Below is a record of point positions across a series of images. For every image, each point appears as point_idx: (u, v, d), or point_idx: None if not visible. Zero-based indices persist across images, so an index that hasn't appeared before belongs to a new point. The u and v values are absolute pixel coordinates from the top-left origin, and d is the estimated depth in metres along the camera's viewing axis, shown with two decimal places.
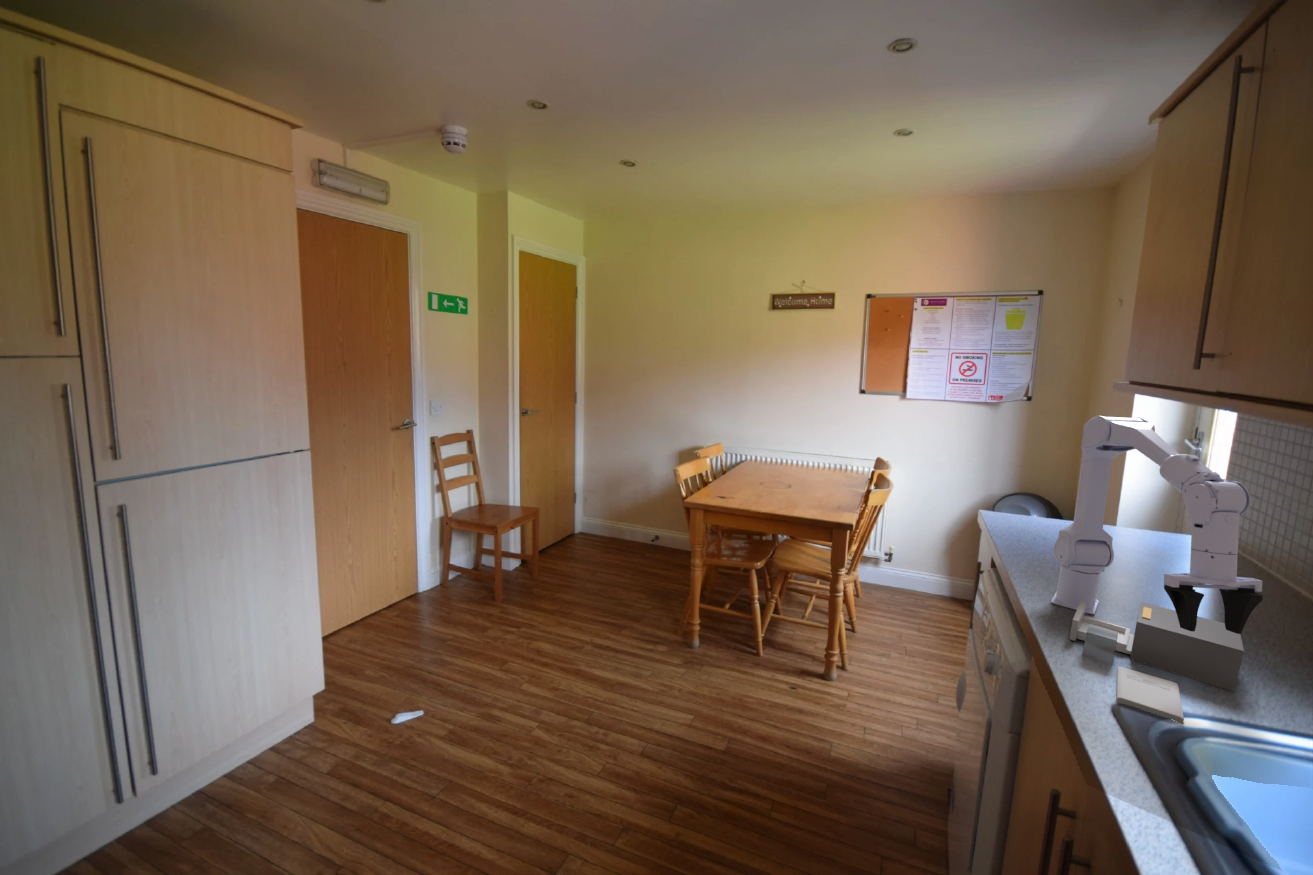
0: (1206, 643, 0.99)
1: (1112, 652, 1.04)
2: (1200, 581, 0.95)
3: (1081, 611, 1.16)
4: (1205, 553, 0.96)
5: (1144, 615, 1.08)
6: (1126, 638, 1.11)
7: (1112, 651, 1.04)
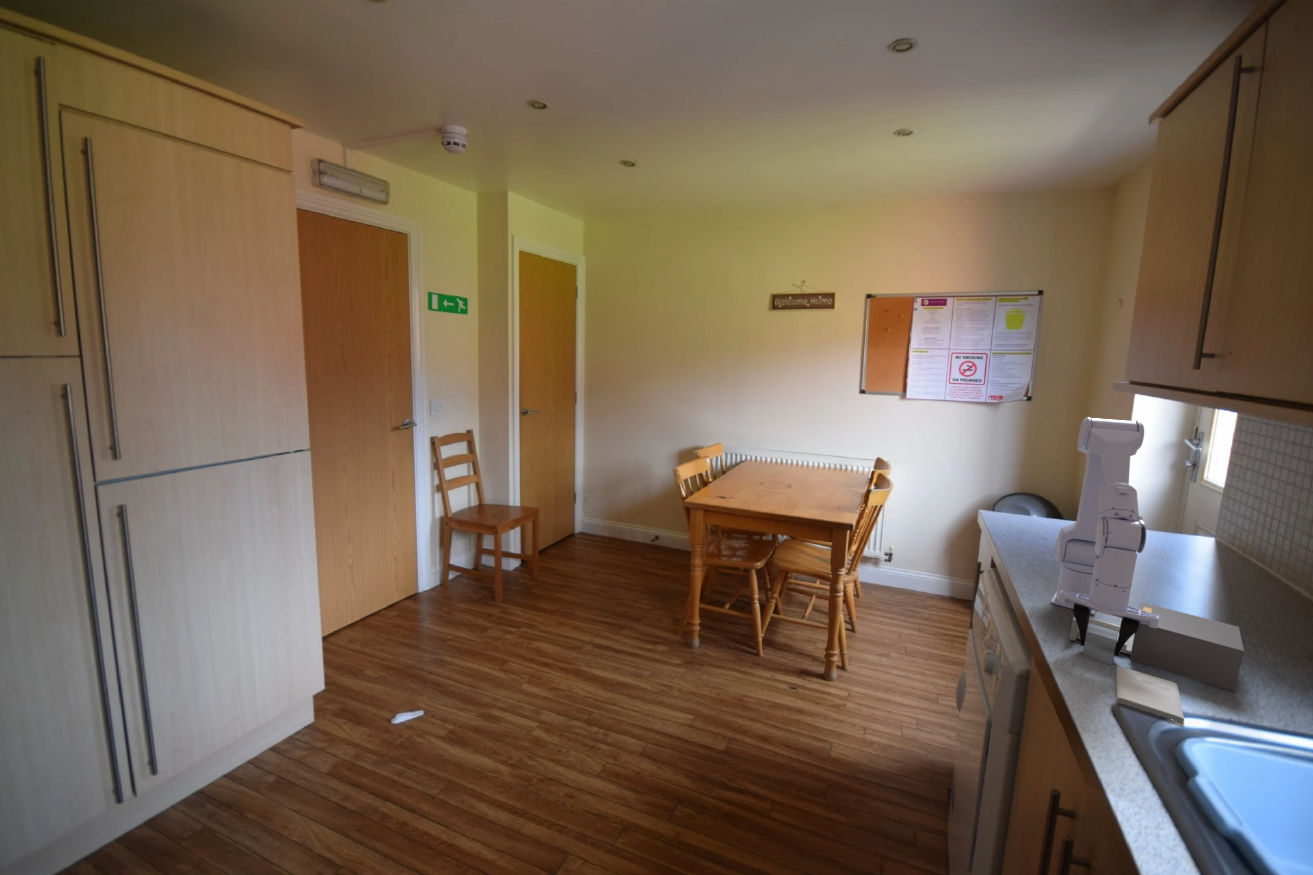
0: (1206, 643, 0.99)
1: (1112, 652, 1.04)
2: (1081, 602, 1.07)
3: None
4: (1093, 580, 1.06)
5: None
6: None
7: (1112, 651, 1.04)
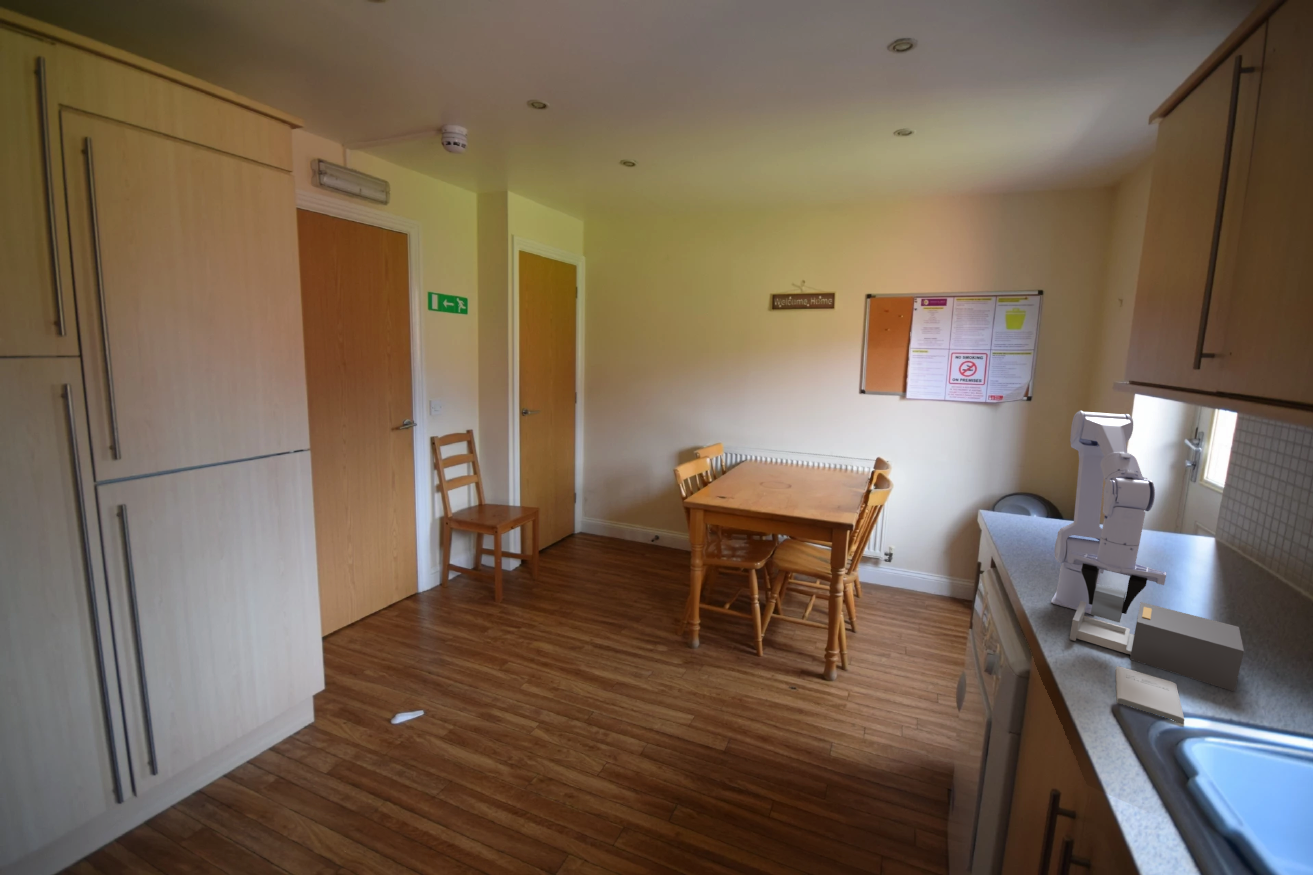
0: (1206, 643, 0.99)
1: (1120, 609, 1.06)
2: (1090, 562, 1.09)
3: (1081, 611, 1.16)
4: (1102, 539, 1.08)
5: (1144, 615, 1.08)
6: (1126, 638, 1.11)
7: (1120, 608, 1.06)
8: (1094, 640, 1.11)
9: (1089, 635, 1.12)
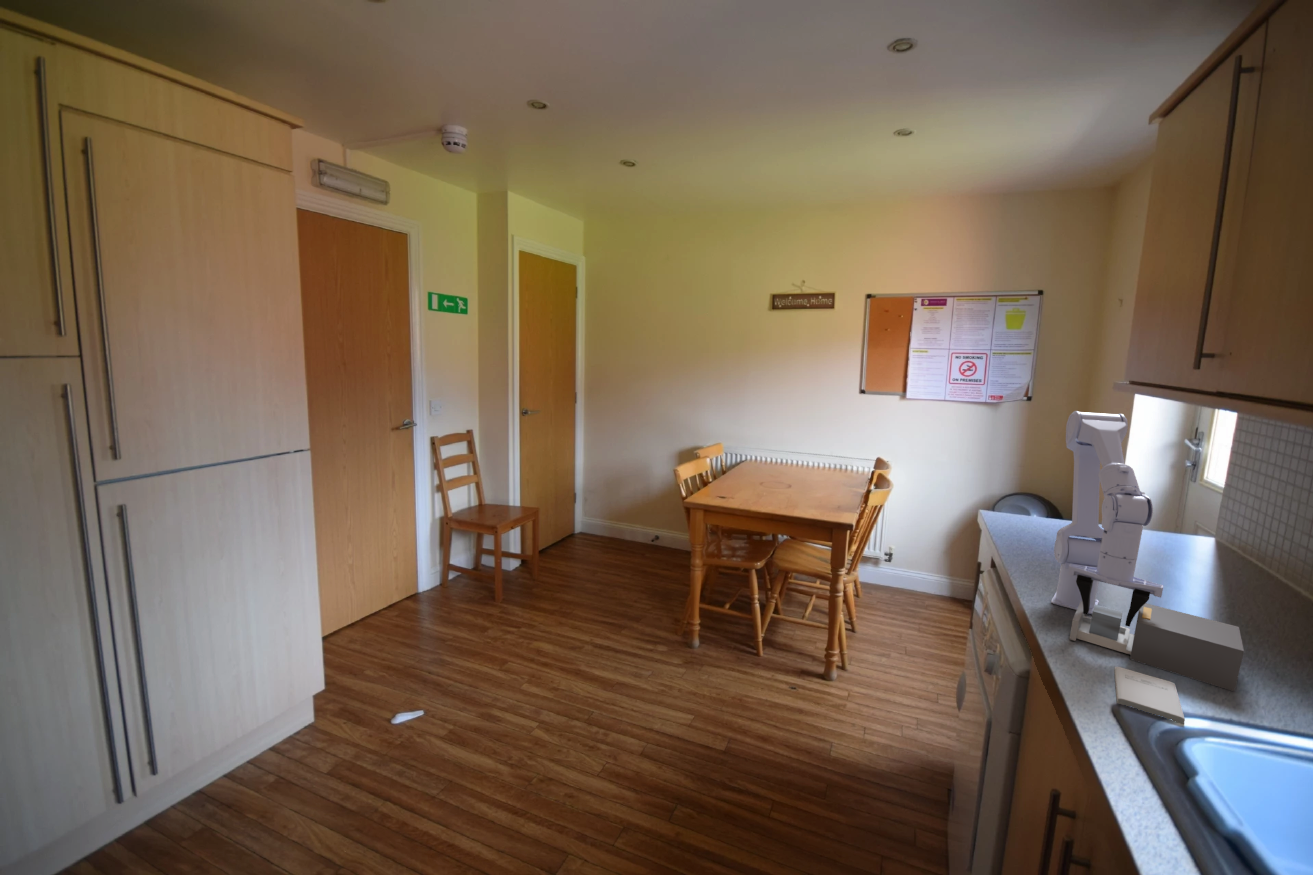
0: (1206, 643, 0.99)
1: (1117, 630, 1.10)
2: (1089, 574, 1.13)
3: (1081, 611, 1.16)
4: (1101, 553, 1.12)
5: (1144, 615, 1.08)
6: (1126, 638, 1.11)
7: (1117, 629, 1.10)
8: (1094, 640, 1.11)
9: (1089, 635, 1.12)
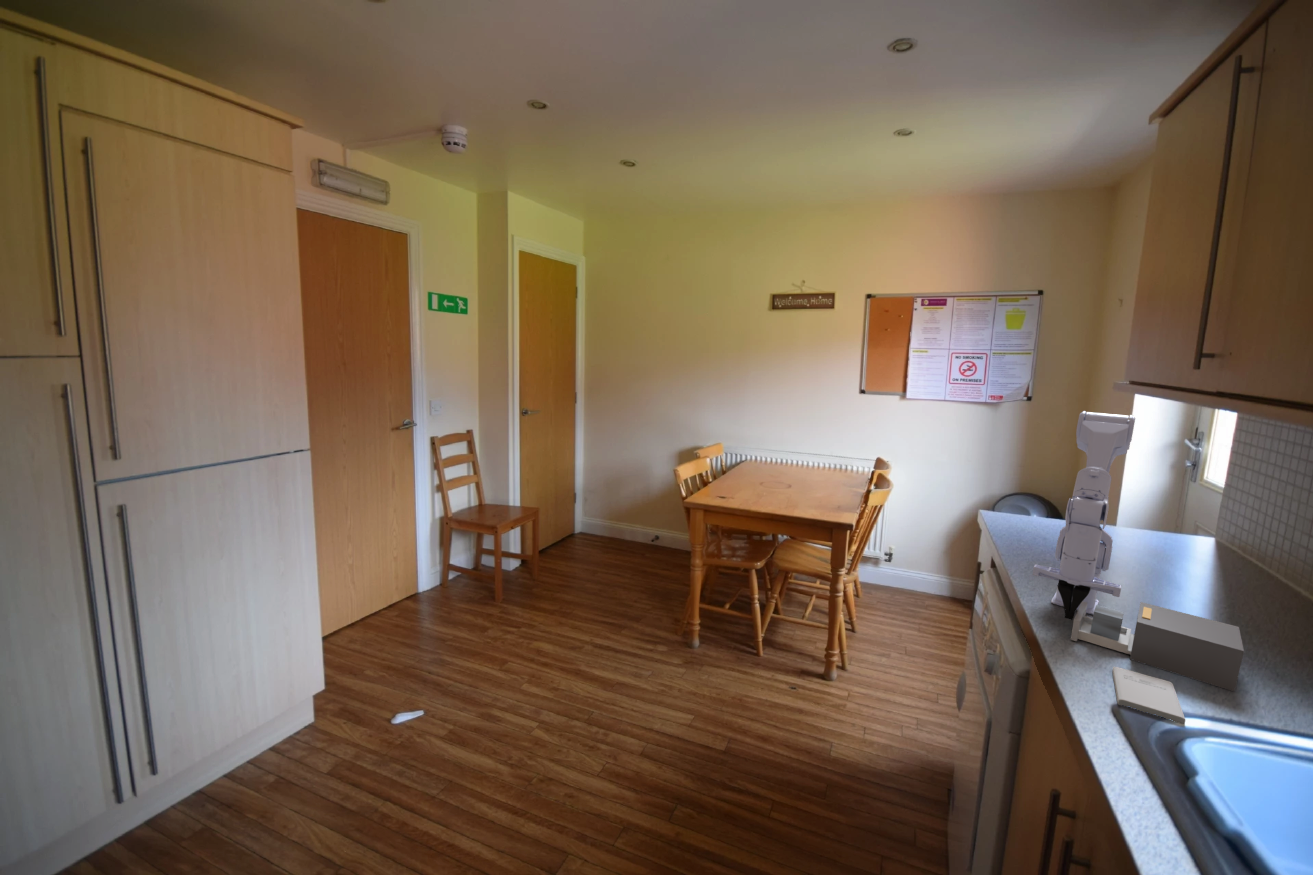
0: (1206, 643, 0.99)
1: (1118, 630, 1.10)
2: (1052, 575, 1.17)
3: (1082, 611, 1.16)
4: (1063, 554, 1.16)
5: (1144, 615, 1.08)
6: (1127, 638, 1.10)
7: (1118, 629, 1.10)
8: (1095, 640, 1.11)
9: (1090, 635, 1.12)
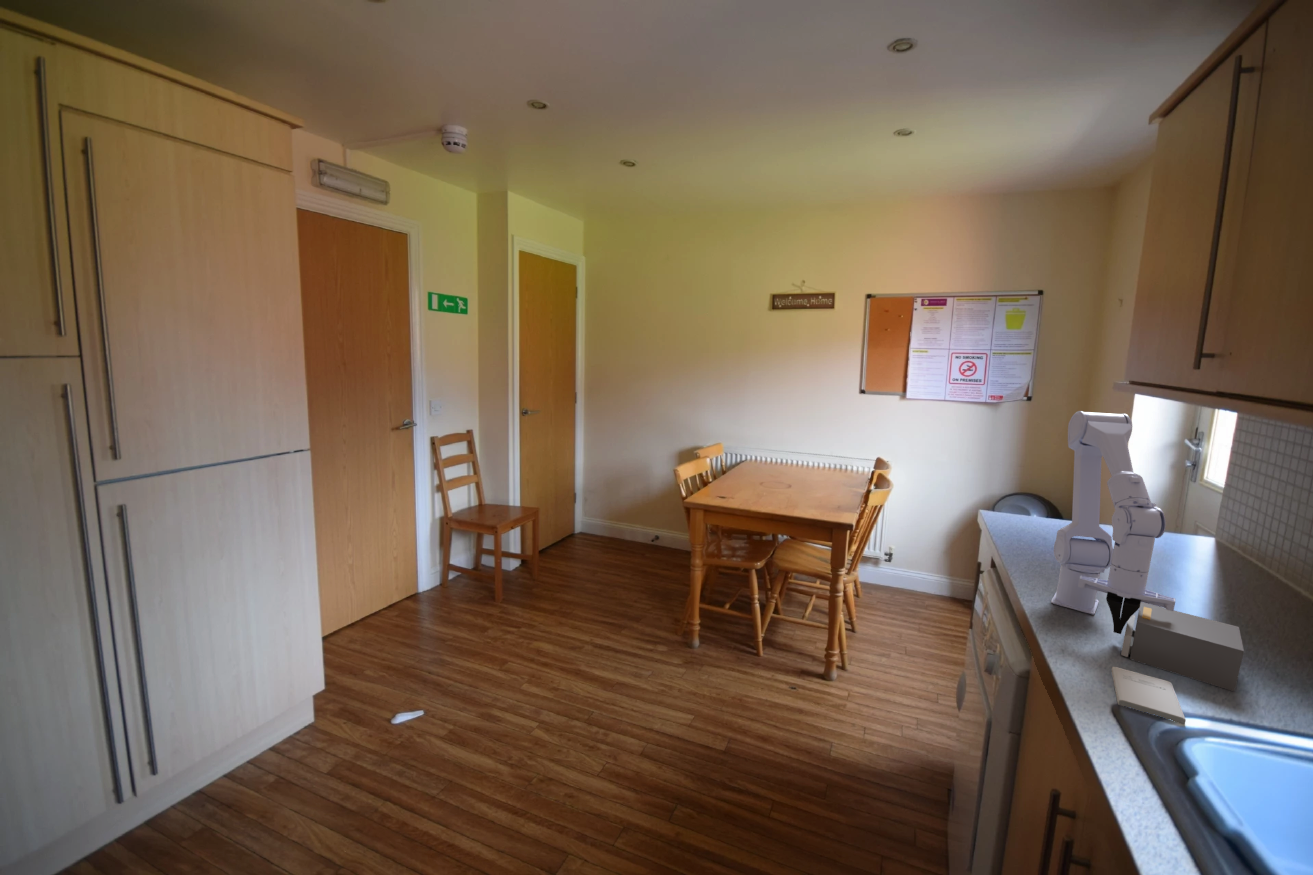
0: (1206, 643, 0.99)
1: None
2: (1100, 587, 1.12)
3: (1132, 625, 1.11)
4: (1112, 565, 1.11)
5: (1144, 615, 1.08)
6: None
7: None
8: None
9: None
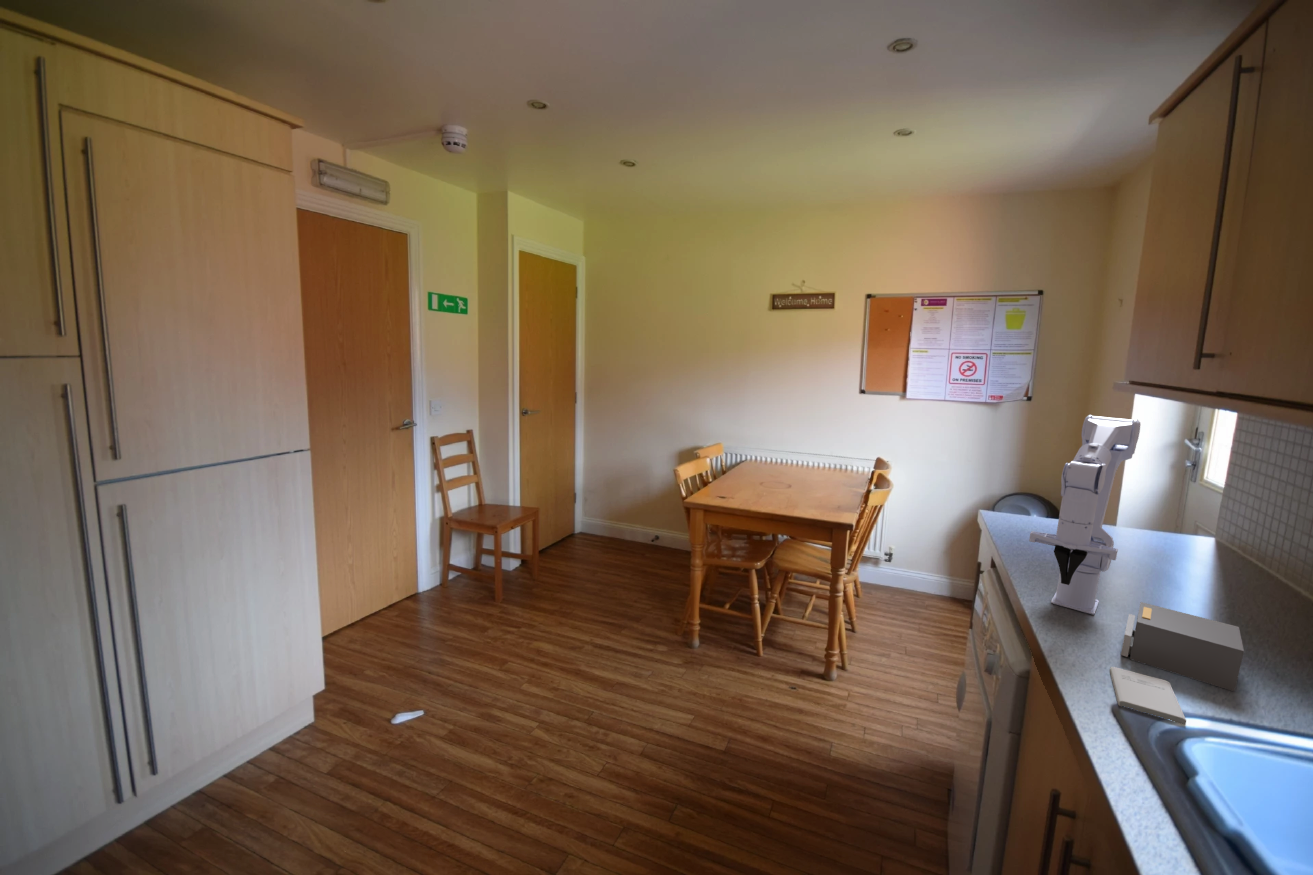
0: (1206, 643, 0.99)
1: None
2: (1049, 540, 1.18)
3: (1132, 625, 1.11)
4: (1059, 519, 1.16)
5: (1144, 615, 1.08)
6: None
7: None
8: None
9: None
